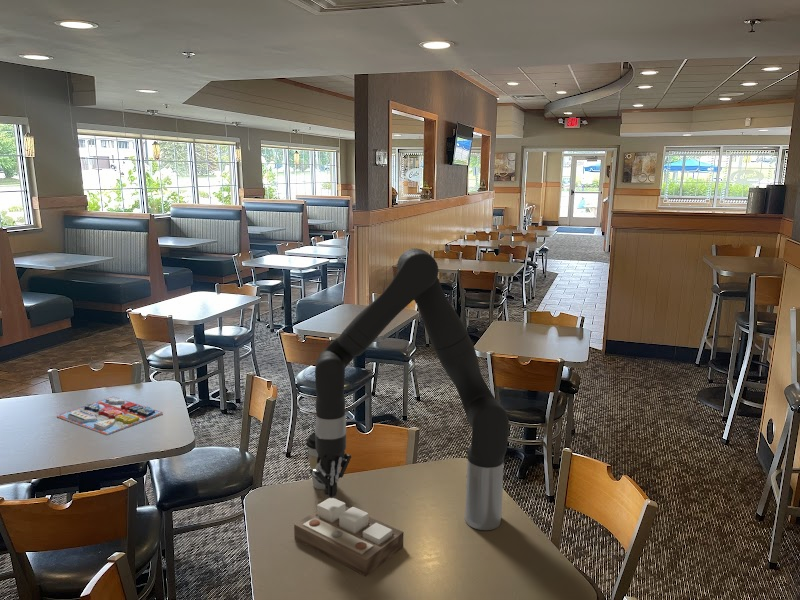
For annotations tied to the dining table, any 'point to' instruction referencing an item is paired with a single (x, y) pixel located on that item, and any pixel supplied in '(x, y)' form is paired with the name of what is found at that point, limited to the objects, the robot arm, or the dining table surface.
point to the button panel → (347, 543)
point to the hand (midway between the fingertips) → (331, 496)
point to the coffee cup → (313, 458)
